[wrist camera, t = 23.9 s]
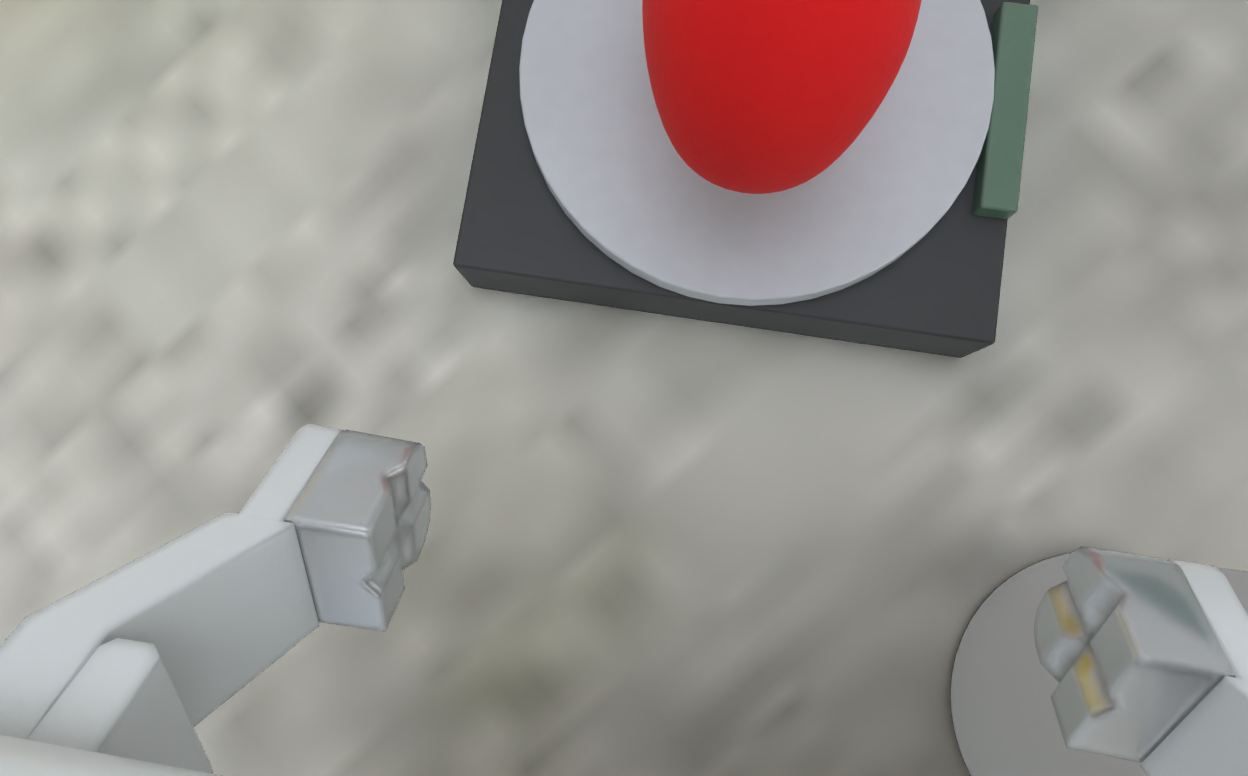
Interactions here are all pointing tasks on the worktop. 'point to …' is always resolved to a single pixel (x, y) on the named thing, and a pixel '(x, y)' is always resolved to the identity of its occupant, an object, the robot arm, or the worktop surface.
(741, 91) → the heart
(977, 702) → the mug
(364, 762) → the worktop surface
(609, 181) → the scale
